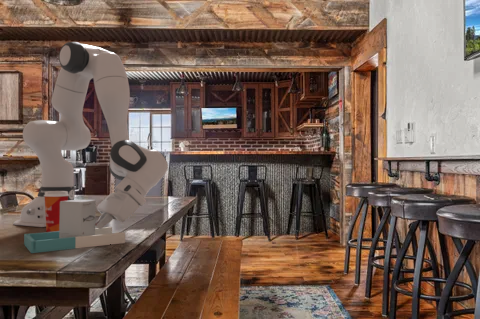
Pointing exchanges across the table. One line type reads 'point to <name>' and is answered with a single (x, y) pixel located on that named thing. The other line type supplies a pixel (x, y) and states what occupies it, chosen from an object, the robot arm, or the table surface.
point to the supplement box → (77, 218)
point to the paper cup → (54, 208)
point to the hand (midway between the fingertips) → (97, 227)
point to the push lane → (71, 240)
